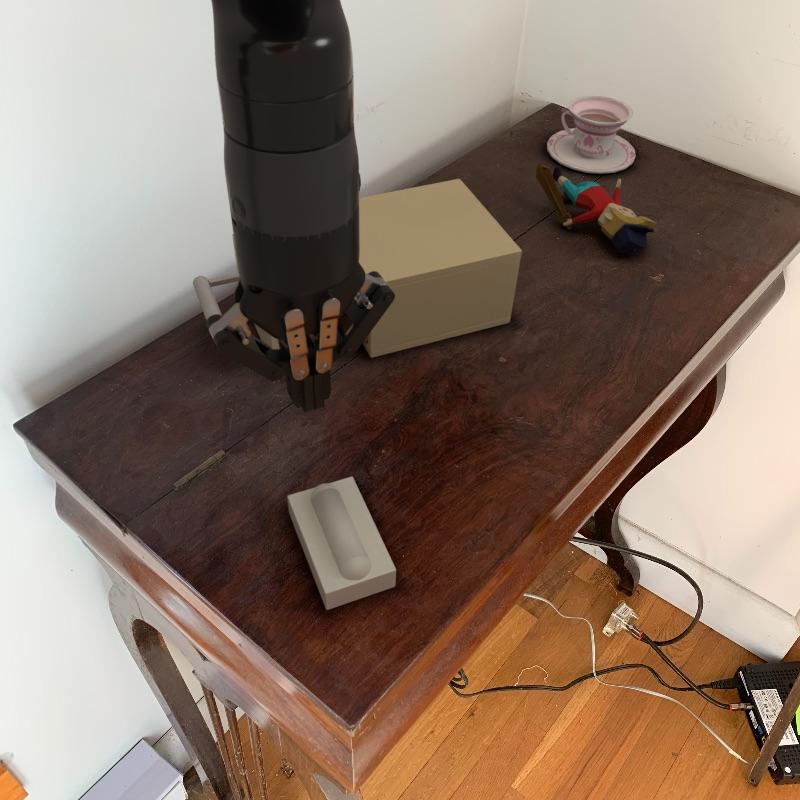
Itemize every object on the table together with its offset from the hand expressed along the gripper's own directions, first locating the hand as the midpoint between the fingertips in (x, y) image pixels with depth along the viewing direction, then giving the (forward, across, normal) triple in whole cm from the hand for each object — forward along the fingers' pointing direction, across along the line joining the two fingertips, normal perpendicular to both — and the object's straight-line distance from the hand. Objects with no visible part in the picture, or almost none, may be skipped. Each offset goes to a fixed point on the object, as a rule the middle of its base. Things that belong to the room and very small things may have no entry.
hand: (309, 402), depth 59 cm
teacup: (+12, -56, -39) cm, 69 cm away
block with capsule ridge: (+12, 0, +5) cm, 13 cm away
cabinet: (+12, -20, -20) cm, 31 cm away
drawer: (+11, -7, -21) cm, 25 cm away
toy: (+12, -45, -24) cm, 52 cm away
